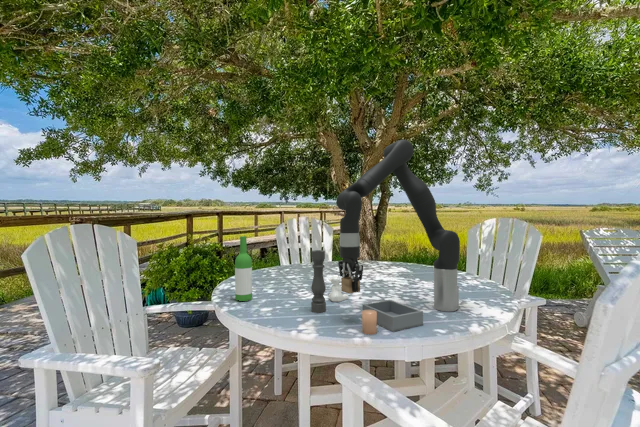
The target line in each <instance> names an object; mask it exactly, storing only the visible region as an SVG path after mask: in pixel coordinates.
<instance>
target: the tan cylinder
mask: <svg viewBox="0 0 640 427" xmlns="http://www.w3.org/2000/svg"><path fill="white" fill-rule="evenodd" d="M361 318H362V320H361V328H362V329H361V332H362V334H364V335H368V334H369V335H368V336H371V335H373V336H374V335H376V334H377V333H378V324H377V311H375V310H363V311H361Z"/></svg>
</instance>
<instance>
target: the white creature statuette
mask: <svg viewBox="0 0 640 427" xmlns="http://www.w3.org/2000/svg"><path fill="white" fill-rule="evenodd" d="M341 278H342V277H341V276H340V275H338V274H333V275H331V277H328V281H329V282H330V283H331V284H332V286H331V290H330V291H331V292H330V293H329V294H328V299H329V300H330V301H331V302H333V303H340V302H344V301H346V300H348V299H349V295H348V294H346V293H344V294H343V293H342V292H343V291H342V285H341V284H340V283H341Z"/></svg>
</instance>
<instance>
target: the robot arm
mask: <svg viewBox="0 0 640 427" xmlns="http://www.w3.org/2000/svg"><path fill="white" fill-rule="evenodd" d="M413 155H414V146H413V144H412V143H411V142H410V141H409V140H407V139H399V140H396V141H394V142H392V143H391V144H388V145H387V146H386V147H385V148H384V149H383V159H382V160H381V161H379V162H378V163H376V164H375V165H373V166H372V167H371V168H370V169H368V170H367V171H366V172H364V174H363V175H361V176H360V177H359V178H358V179H357V180H356V181H355V182H353V183H352V184H350V185H349V186H348V187H346V188H344V190H342V191H341V192H340V193H339V194H338V196H337V197H336V206H337V208H338V209H339V210H341V211H344V216H343V217H342V218H340V220H339V232H340V234H339V257H340V258H341V259H342V260H338V261H337V262H338V263H337V265H338V271H339V277H341V278H343V277H350V276H351V279H352V291H353V292H356V293H358V292H357V291H358V281H360V282H361V281H362V279H363V272H364V264H359V258H360V257H361V239H360V223H359V222H360V218H361V214H362V209H363V200H362V198H365V197H367V196H370V194H371V193H372V192H373V191H374V190H375V189H376V188H377V187H378V186H379V185H381V183H382V182H383V181H384V180H385V179H386V178H387V177H388V176H390V175H391V174H392V173H393V175H394V176H395V177H396V179H397V181H398V182H399V184H400V186H401V187H402V190H404V193H405V195H406V196H407V199H408V201H409V202H410V205H411V207H412V208H413V210H414V211H415V213H416V216H417V217H418V219H419V220H420V222H421V224H422V226H423V229H424V231H425V233H426V236H427V237H428V241H429V243H430V245H431V246H432V247H433V249H434V250H436V251H438V258H437V259H435V260H434V261H433V309H435V310H437V311H441V312H456V311H457V310H458V309H460V308H459V307H460V302H459V301H460V299H459V298H460V296H459V295H460V293H459V291H460V288H459V285H458V264H459V262H460V252H461V251H460V250H461V241H460V237H459V235H458V233H457V232H455V231H453V230H449V229H448V230H447V229H445V228H444V227H443V226H442V224H441V222H440V220H439V219H438V214H437V206H436V204H437V203H436V200H435V197H434V195H433V193H432V192H431V190H430V187H429V186H428V185H427V184H426V182H424V181H423V180H422V179H420V177H417V176H416V175H415V173H413V172H412V170H410V168H409V166H408V164H407V162H408V161H410V160H411V158H413ZM354 277H355V278H354Z"/></svg>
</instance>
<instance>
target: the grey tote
mask: <svg viewBox="0 0 640 427" xmlns="http://www.w3.org/2000/svg"><path fill="white" fill-rule="evenodd" d="M361 308H362V311H363V310H375V311H377V326H380V327H382V328H383V329H386V330H388V331H391V332H393V333H394V332H398V331H405V330H407V329H412V328H417V327H419V326H421V327H422V326H423V325H424V311H423V310H420V309H417V308H415V307H412V306H409V305H406V304H403V303H401V302H398V301H395V300H393V299H388V300H382V301H381V300H380V301H375V302H374V301H373V302H370V303H364V304H362V307H361ZM362 311H361V312H362Z"/></svg>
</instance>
